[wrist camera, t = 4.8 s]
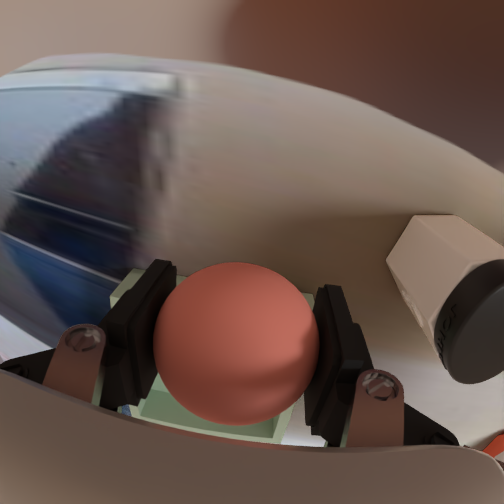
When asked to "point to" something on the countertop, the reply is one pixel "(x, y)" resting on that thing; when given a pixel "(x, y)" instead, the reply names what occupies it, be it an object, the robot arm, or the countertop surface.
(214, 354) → the tomato ball
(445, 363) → the jar
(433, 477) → the robot arm
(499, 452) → the french fries container
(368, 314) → the countertop surface
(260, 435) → the green bin
